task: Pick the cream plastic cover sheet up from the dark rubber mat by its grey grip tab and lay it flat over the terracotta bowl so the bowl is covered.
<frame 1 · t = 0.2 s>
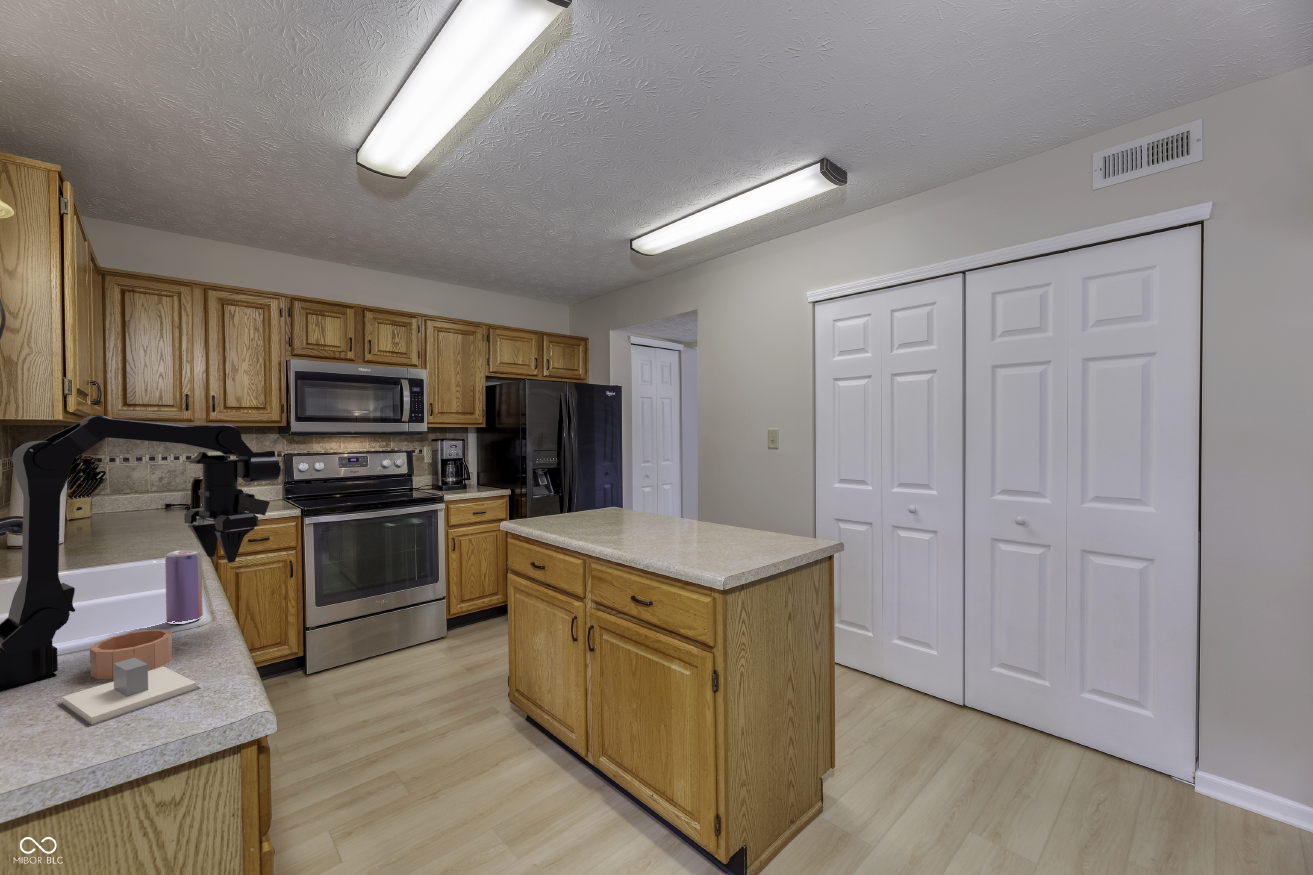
hand: (221, 559, 115), 15 cm above the countertop, tool pointing down, fingers open, 9 cm apart
mat: (131, 699, 85), on the countertop
cover sheet: (131, 695, 85), resting on mat
beverage can: (184, 621, 119), on the countertop
bowl: (132, 668, 96), on the countertop
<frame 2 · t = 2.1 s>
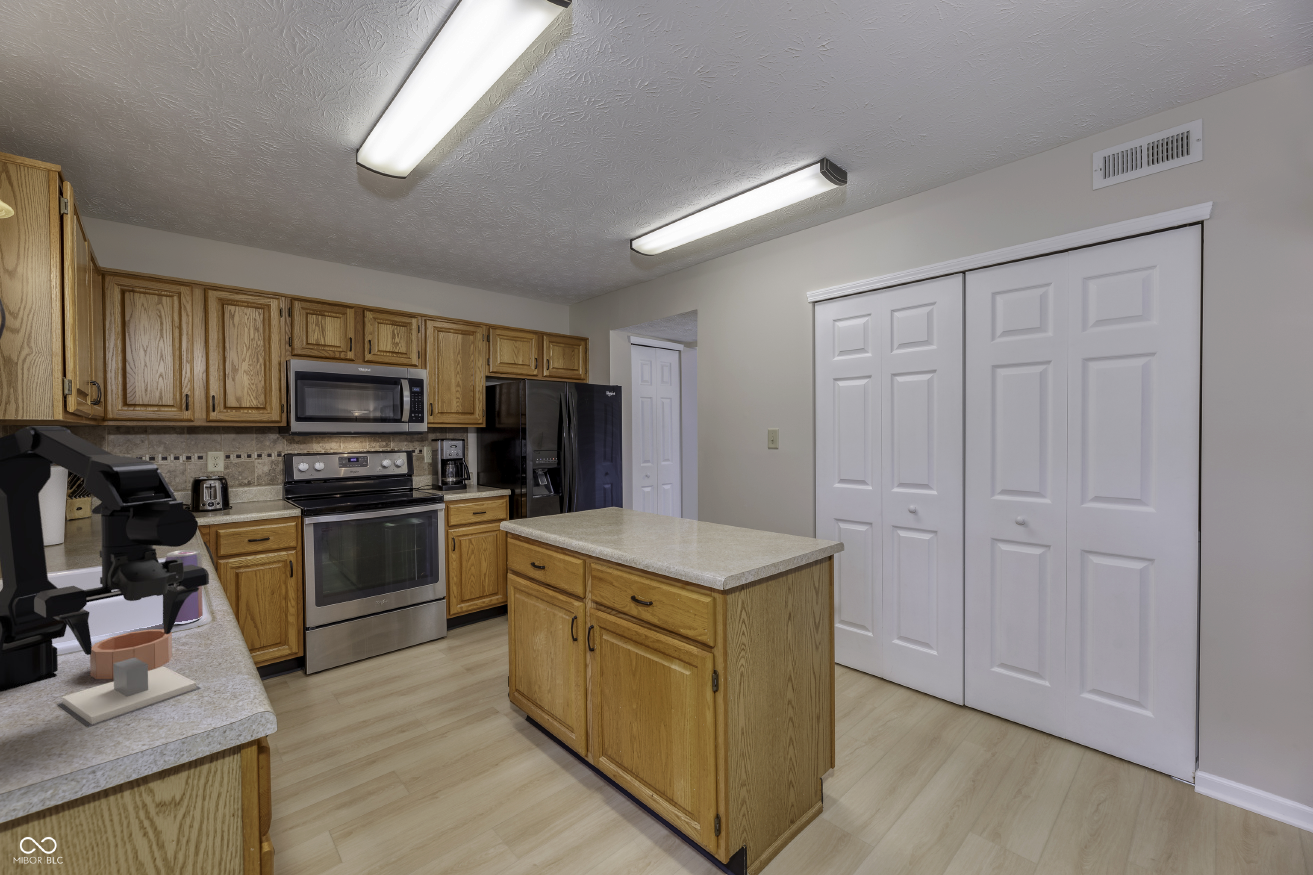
hand: (129, 643, 85), 9 cm above the countertop, tool pointing down, fingers open, 9 cm apart
nothing on the countertop moved.
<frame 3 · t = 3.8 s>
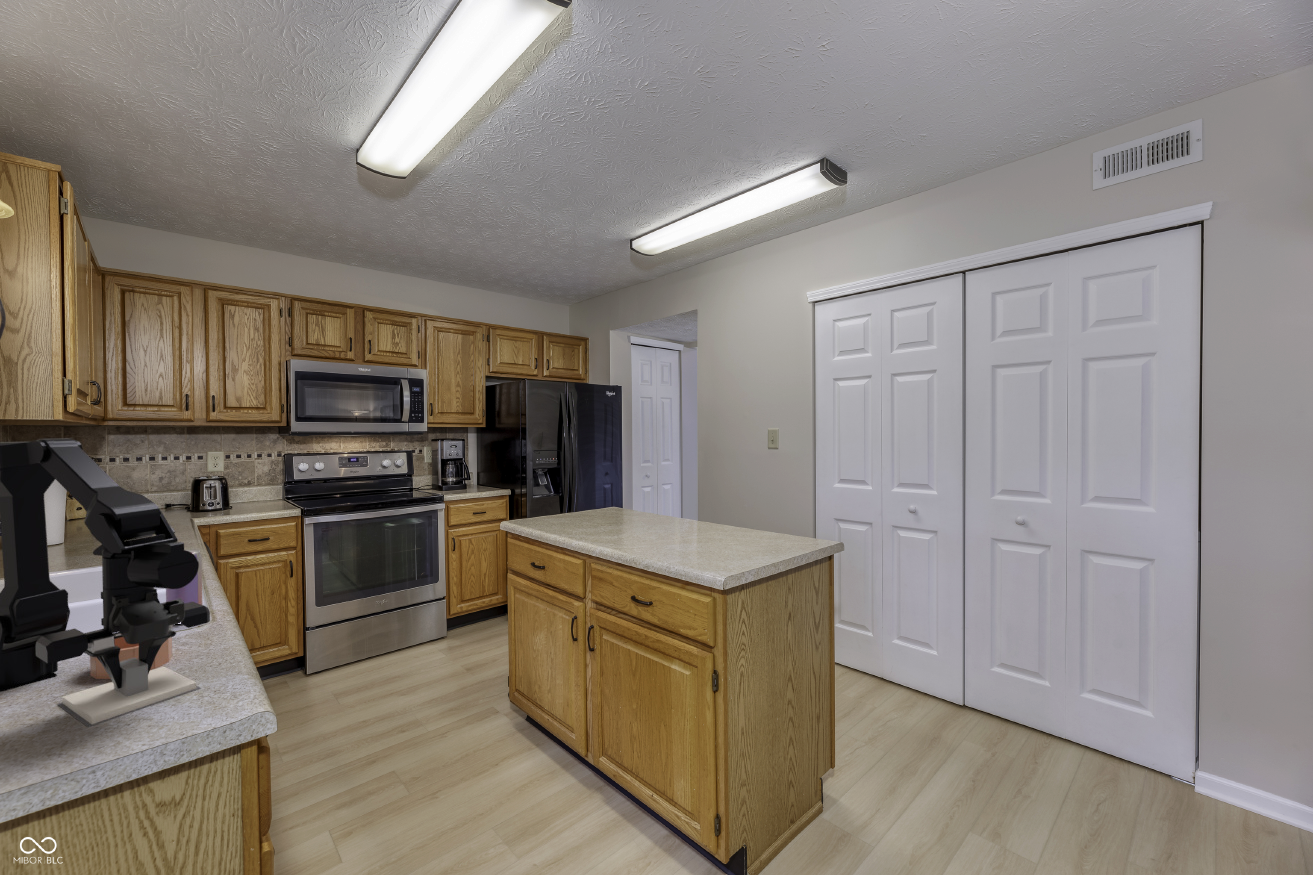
hand: (130, 684, 85), 2 cm above the countertop, tool pointing down, fingers closed on cover sheet, 2 cm apart
cover sheet: (131, 695, 85), resting on mat, touching gripper
everything else where it was.
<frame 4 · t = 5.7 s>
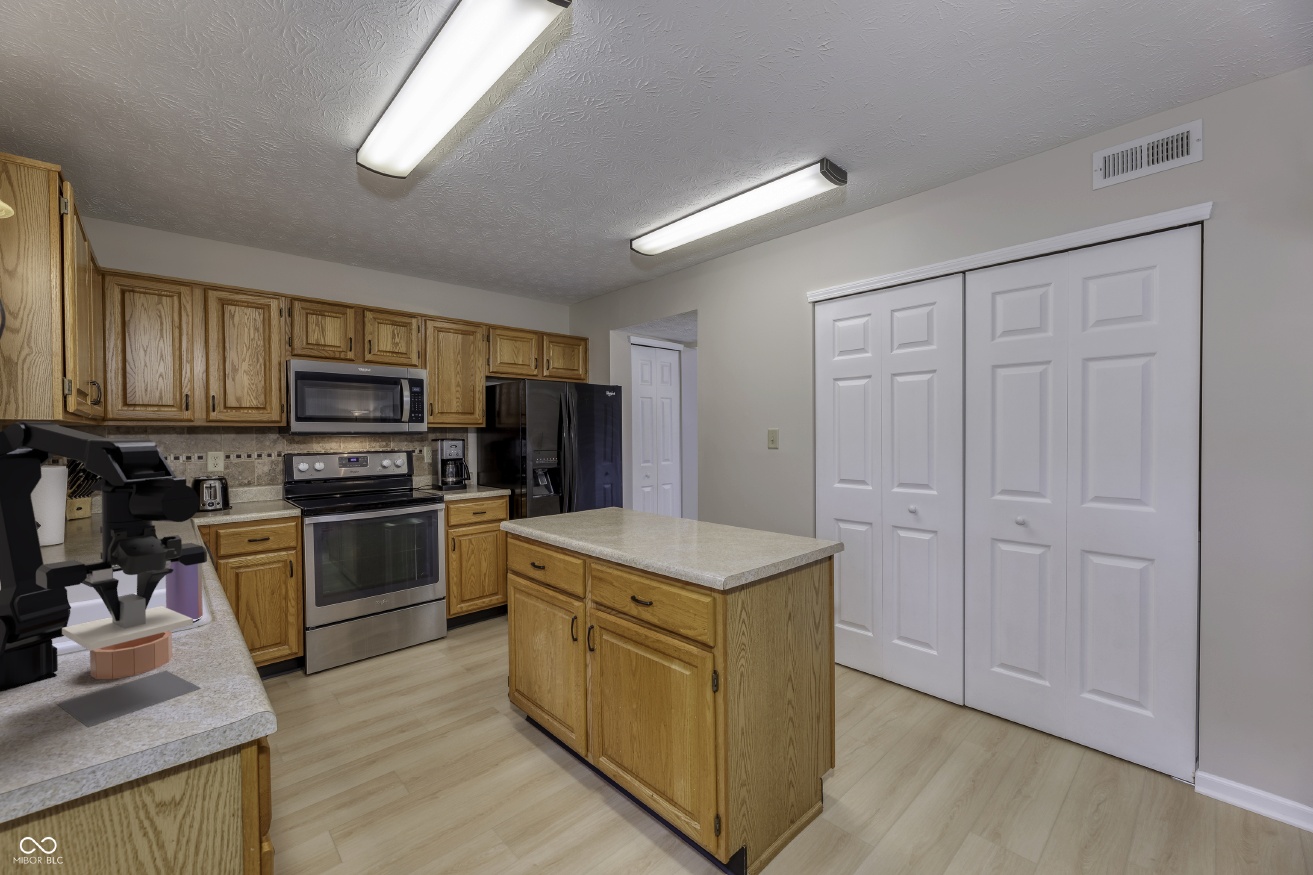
hand: (128, 617, 87), 12 cm above the countertop, tool pointing down, fingers closed on cover sheet, 2 cm apart
cover sheet: (129, 629, 87), point 10 cm above the countertop, touching gripper
everything else where it was.
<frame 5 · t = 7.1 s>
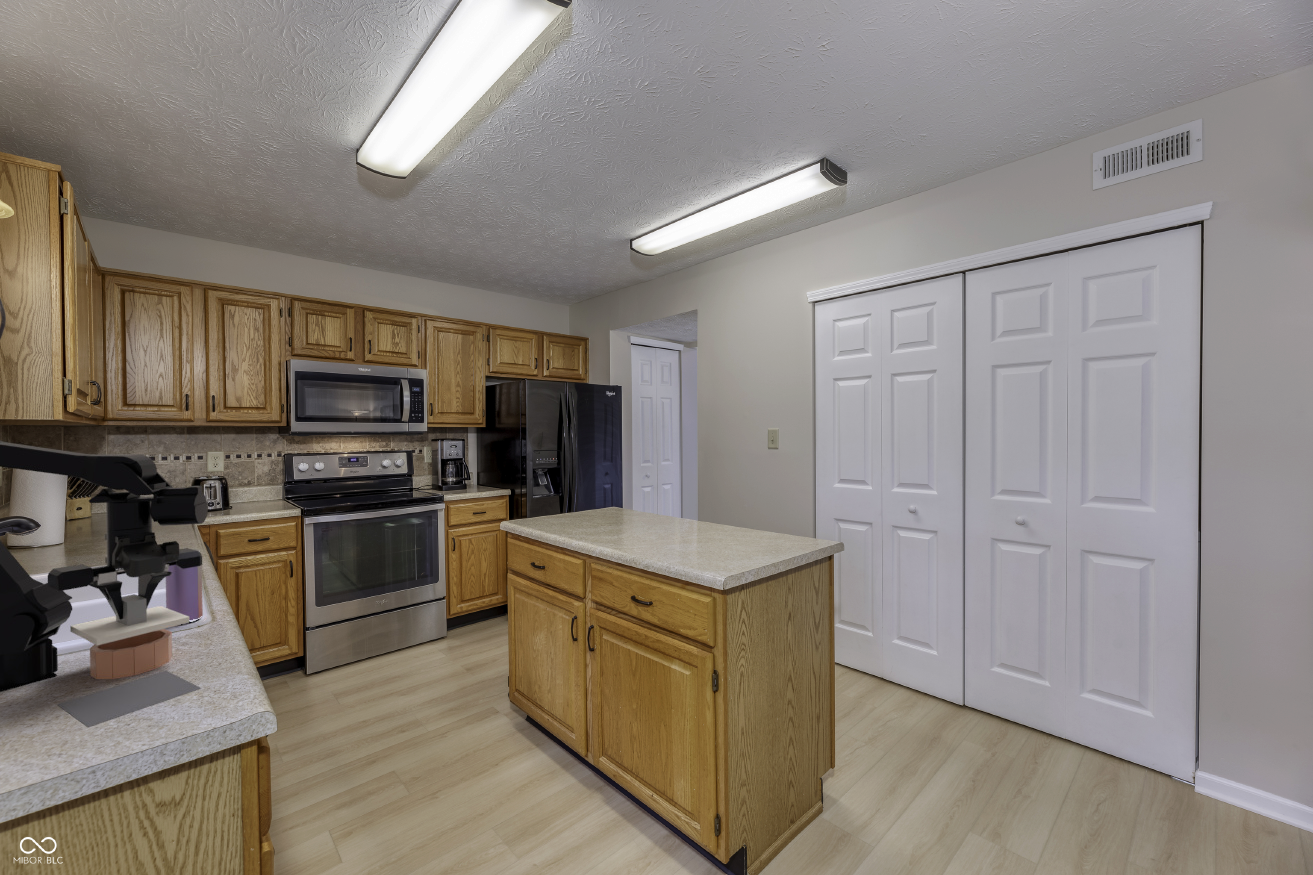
hand: (131, 616, 96), 9 cm above the countertop, tool pointing down, fingers closed on cover sheet, 2 cm apart
cover sheet: (131, 626, 96), point 7 cm above the countertop, touching gripper
everything else where it was.
when the fingers open (8 cm above the countertop, at t = 7.9 s): cover sheet stays where it is, resting on bowl.
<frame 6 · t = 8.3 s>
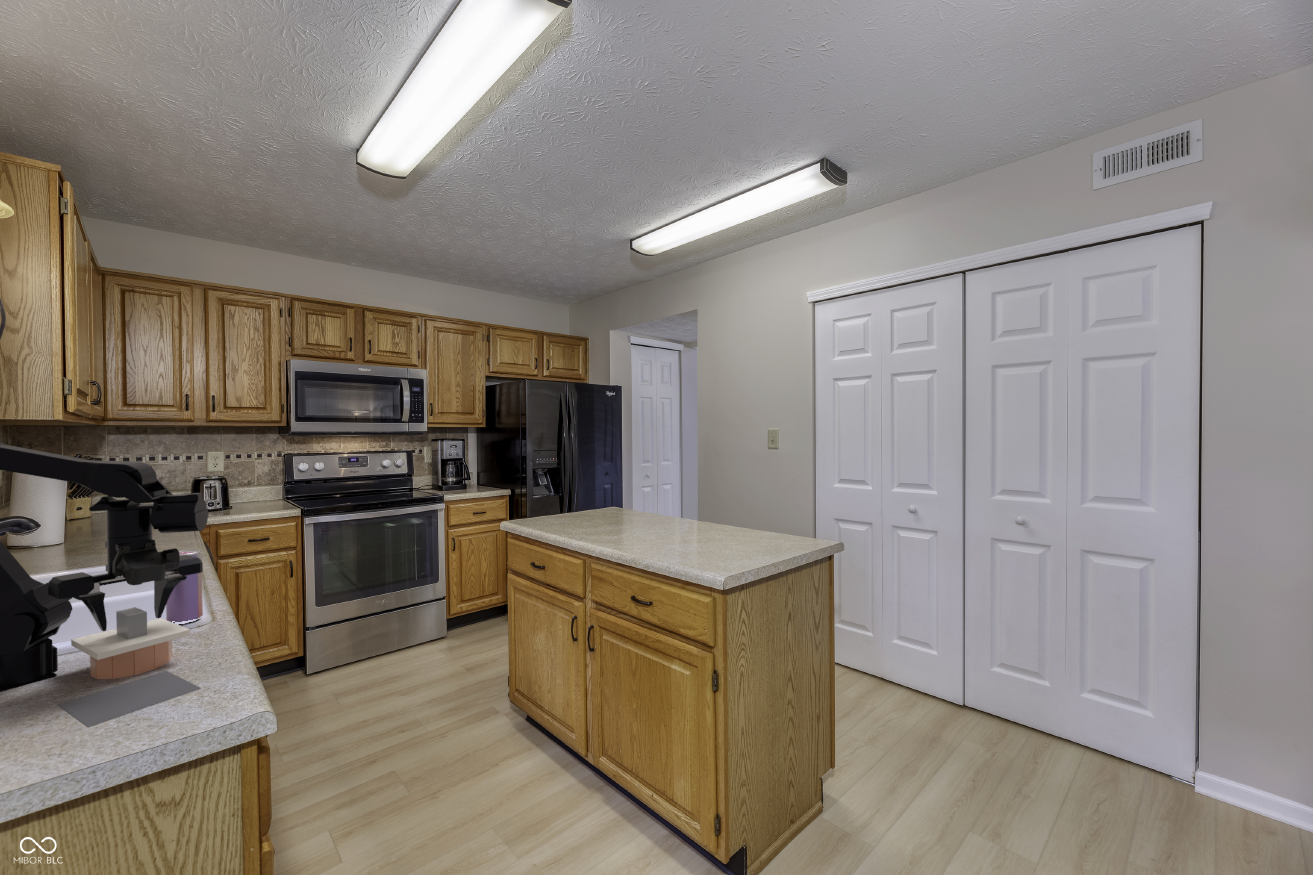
hand: (131, 624, 96), 8 cm above the countertop, tool pointing down, fingers open, 7 cm apart
cover sheet: (132, 640, 96), point 5 cm above the countertop, touching bowl
everything else where it was.
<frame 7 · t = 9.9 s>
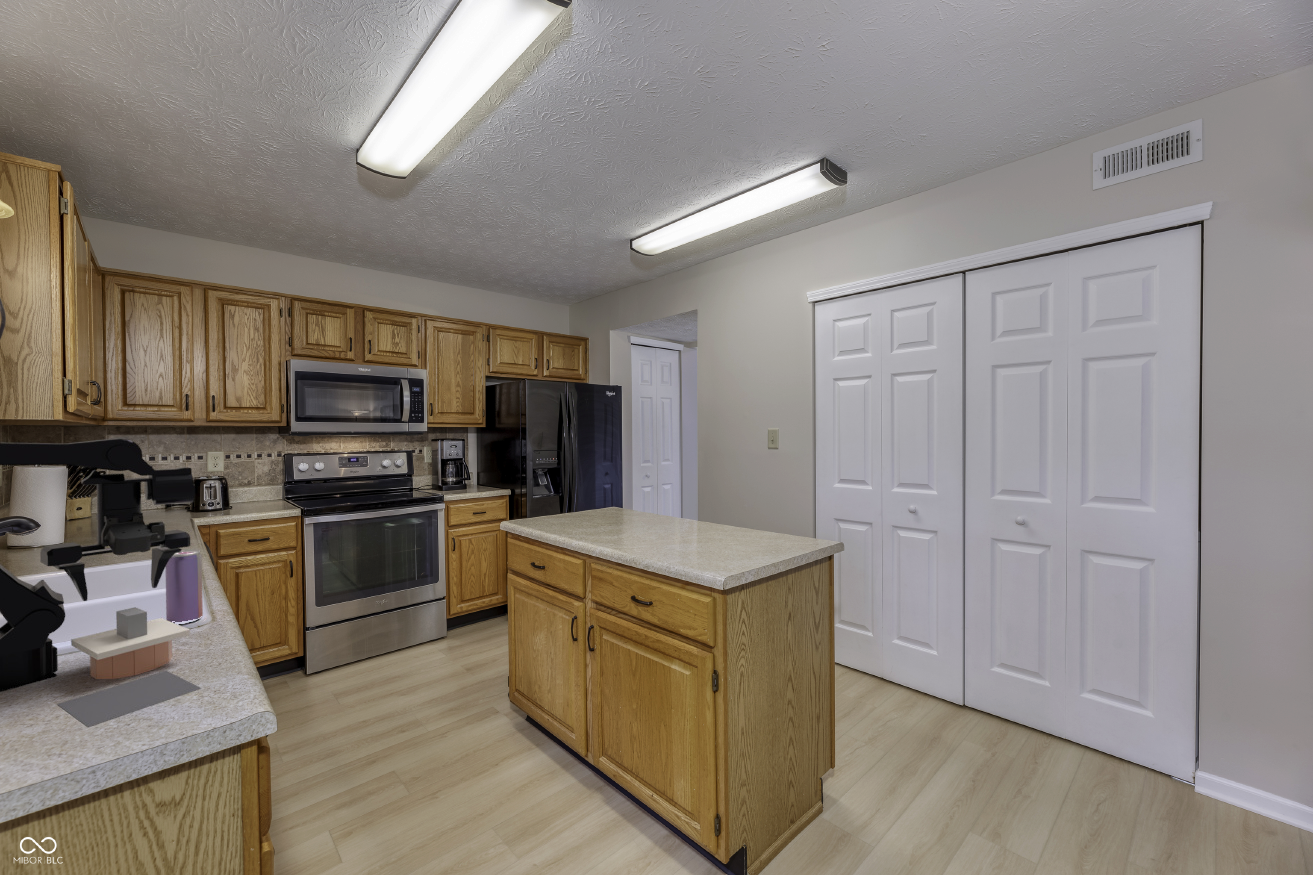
hand: (120, 593, 99), 12 cm above the countertop, tool pointing down, fingers open, 9 cm apart
nothing on the countertop moved.
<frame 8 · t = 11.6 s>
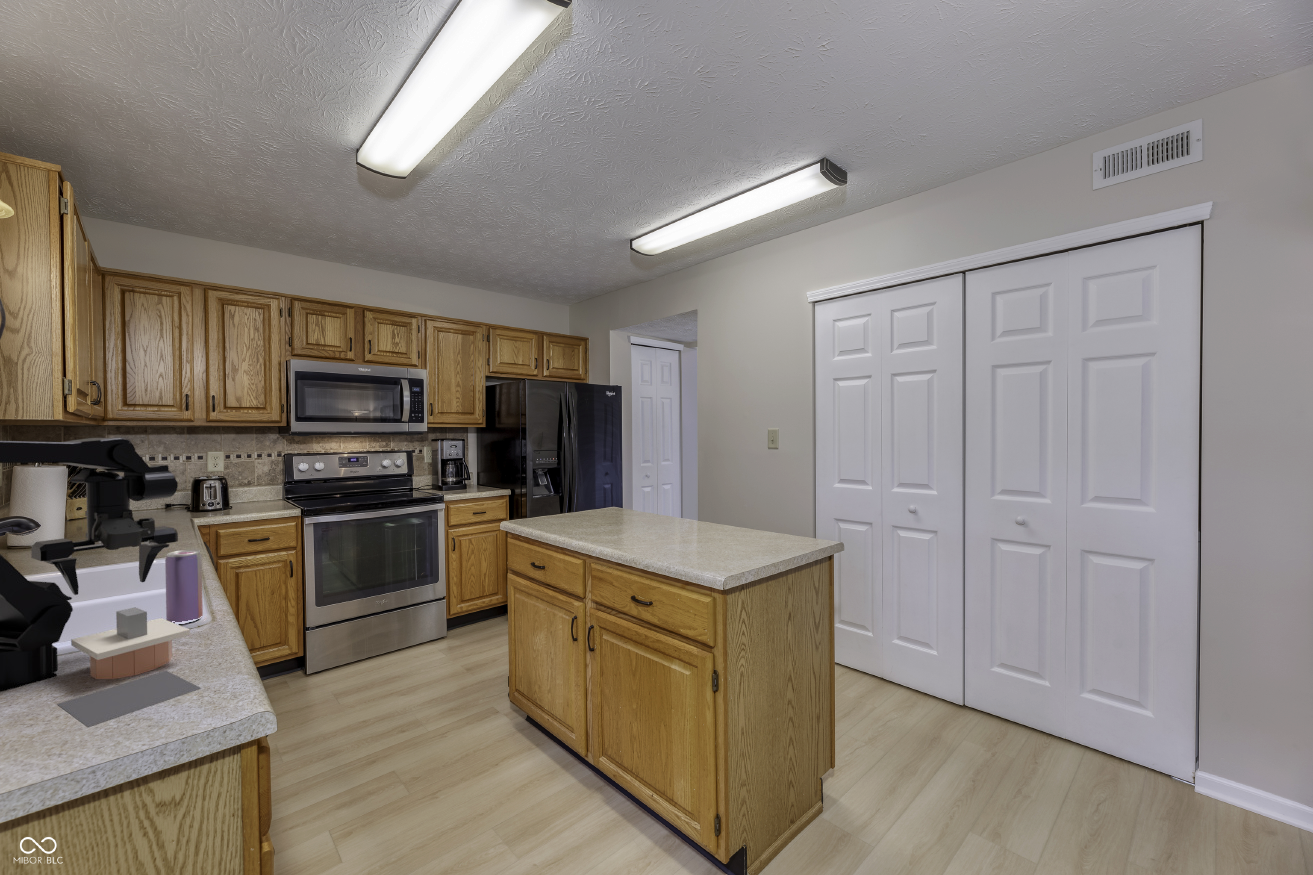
hand: (110, 588, 103), 12 cm above the countertop, tool pointing down, fingers open, 9 cm apart
nothing on the countertop moved.
at the end: cover sheet 0.0 cm from the bowl (horizontally); cover sheet point 5.0 cm above the countertop; the gripper is holding nothing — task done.
